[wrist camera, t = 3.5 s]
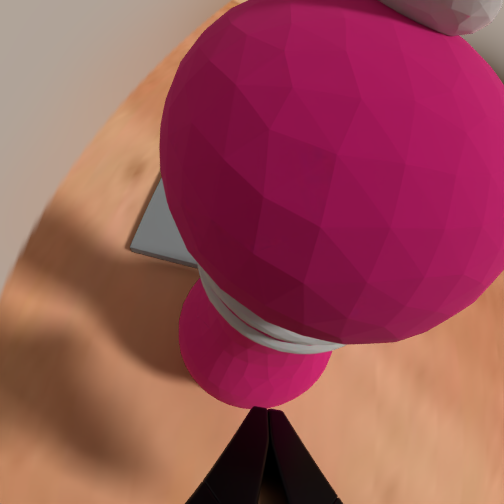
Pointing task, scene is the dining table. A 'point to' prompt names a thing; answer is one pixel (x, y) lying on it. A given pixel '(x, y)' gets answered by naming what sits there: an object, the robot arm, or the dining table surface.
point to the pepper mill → (330, 183)
